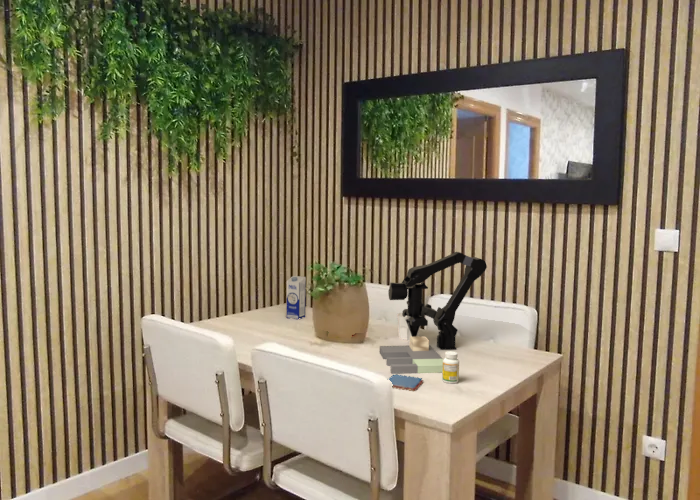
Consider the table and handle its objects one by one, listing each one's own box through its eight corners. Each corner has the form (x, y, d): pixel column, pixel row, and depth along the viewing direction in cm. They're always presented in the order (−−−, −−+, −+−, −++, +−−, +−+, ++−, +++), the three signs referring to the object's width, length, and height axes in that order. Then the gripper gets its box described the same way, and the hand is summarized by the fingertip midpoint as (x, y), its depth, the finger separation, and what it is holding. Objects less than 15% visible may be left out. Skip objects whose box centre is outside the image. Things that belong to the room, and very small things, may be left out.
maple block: (424, 346, 224) (425, 336, 223) (428, 350, 218) (428, 340, 217) (409, 346, 223) (409, 336, 223) (412, 351, 217) (413, 340, 217)
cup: (412, 342, 239) (413, 318, 238) (392, 338, 245) (392, 315, 244) (424, 337, 247) (425, 314, 246) (404, 333, 253) (405, 311, 252)
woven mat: (415, 393, 180) (415, 387, 180) (383, 388, 185) (383, 382, 184) (424, 383, 190) (424, 377, 190) (393, 378, 194) (393, 372, 194)
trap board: (430, 351, 226) (430, 345, 226) (448, 372, 200) (448, 365, 200) (379, 352, 224) (379, 345, 223) (391, 373, 198) (391, 366, 198)
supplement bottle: (453, 385, 187) (454, 356, 186) (439, 381, 191) (440, 353, 190) (461, 381, 191) (462, 352, 190) (447, 377, 195) (448, 349, 194)
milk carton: (305, 316, 283) (306, 276, 281) (298, 319, 277) (299, 278, 275) (293, 315, 286) (293, 275, 284) (286, 318, 280) (286, 277, 278)
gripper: (441, 304, 219) (440, 344, 221) (429, 295, 238) (428, 332, 239) (412, 304, 218) (411, 345, 220) (402, 295, 236) (401, 332, 238)
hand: (414, 338), depth 229 cm, fingers closed
